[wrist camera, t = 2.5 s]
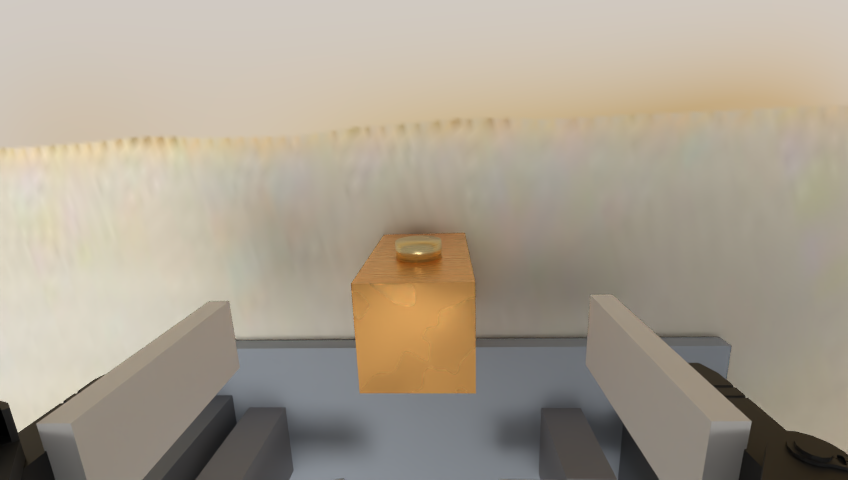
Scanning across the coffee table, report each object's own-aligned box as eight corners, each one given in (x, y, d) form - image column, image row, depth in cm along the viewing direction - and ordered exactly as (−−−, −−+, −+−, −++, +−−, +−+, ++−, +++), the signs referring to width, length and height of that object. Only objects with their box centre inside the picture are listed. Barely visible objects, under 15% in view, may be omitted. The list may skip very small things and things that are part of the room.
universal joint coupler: (383, 222, 22) (349, 265, 14) (464, 220, 22) (475, 262, 14) (388, 321, 23) (360, 409, 16) (465, 320, 23) (475, 409, 15)
